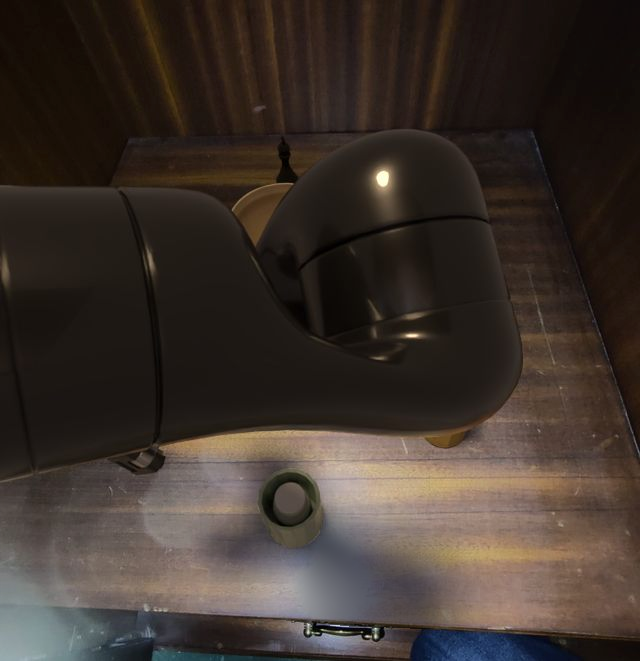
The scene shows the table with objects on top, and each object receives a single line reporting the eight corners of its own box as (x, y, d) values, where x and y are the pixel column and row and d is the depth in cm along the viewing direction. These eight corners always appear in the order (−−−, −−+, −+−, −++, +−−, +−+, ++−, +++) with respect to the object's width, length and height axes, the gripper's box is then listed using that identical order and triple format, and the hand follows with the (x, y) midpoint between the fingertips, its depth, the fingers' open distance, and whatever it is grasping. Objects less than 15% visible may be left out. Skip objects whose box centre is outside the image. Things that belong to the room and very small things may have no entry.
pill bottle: (270, 522, 63) (261, 502, 57) (291, 492, 65) (286, 470, 59) (299, 543, 61) (293, 526, 55) (320, 512, 63) (317, 492, 57)
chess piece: (293, 171, 103) (289, 126, 94) (302, 184, 100) (298, 139, 92) (273, 178, 102) (266, 133, 94) (281, 191, 99) (275, 146, 91)
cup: (321, 549, 61) (318, 532, 55) (263, 546, 62) (254, 529, 55) (324, 492, 65) (321, 469, 59) (270, 489, 66) (262, 467, 59)
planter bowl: (221, 263, 89) (207, 215, 80) (293, 219, 95) (288, 169, 86) (279, 318, 82) (270, 272, 73) (353, 266, 87) (354, 218, 78)
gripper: (231, 242, 34) (162, 305, 47) (104, 435, 27) (66, 444, 41) (317, 308, 37) (229, 350, 50) (220, 499, 30) (148, 488, 43)
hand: (155, 392), depth 45 cm, fingers open, 8 cm apart
